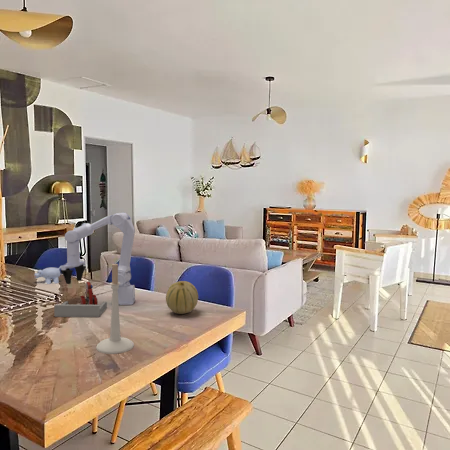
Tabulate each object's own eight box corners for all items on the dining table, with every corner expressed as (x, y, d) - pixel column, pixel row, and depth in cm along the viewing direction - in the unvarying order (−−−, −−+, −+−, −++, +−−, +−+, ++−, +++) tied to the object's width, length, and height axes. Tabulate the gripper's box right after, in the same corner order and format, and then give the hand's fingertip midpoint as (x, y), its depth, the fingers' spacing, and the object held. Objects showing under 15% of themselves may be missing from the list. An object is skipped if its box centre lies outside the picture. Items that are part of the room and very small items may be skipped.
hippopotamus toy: (34, 281, 243) (34, 265, 242) (61, 279, 249) (61, 263, 248) (34, 285, 233) (34, 268, 232) (62, 283, 239) (62, 267, 238)
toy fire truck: (82, 309, 189) (82, 287, 188) (80, 302, 200) (79, 281, 199) (98, 307, 192) (98, 286, 191) (95, 301, 203) (94, 280, 202)
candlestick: (98, 356, 137) (97, 267, 134) (94, 342, 148) (93, 260, 146) (137, 350, 142) (137, 265, 139) (130, 338, 153) (130, 259, 151)
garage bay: (106, 308, 191) (106, 297, 191) (98, 317, 178) (98, 305, 177) (65, 307, 190) (65, 297, 190) (54, 316, 177) (54, 305, 176)
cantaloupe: (191, 307, 196) (191, 276, 194) (203, 315, 182) (203, 282, 181) (161, 310, 189) (161, 278, 188) (171, 319, 176) (171, 285, 175)
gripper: (77, 252, 208) (77, 278, 209) (55, 256, 195) (56, 284, 196) (88, 253, 206) (88, 279, 207) (67, 257, 192) (68, 285, 193)
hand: (73, 282), depth 201 cm, fingers open, 7 cm apart
